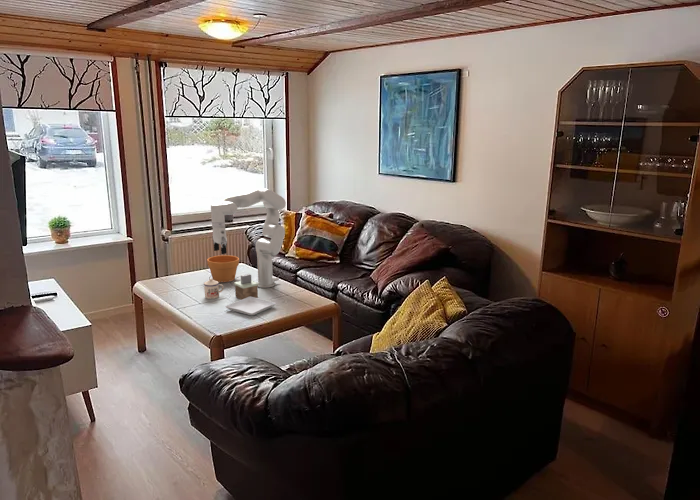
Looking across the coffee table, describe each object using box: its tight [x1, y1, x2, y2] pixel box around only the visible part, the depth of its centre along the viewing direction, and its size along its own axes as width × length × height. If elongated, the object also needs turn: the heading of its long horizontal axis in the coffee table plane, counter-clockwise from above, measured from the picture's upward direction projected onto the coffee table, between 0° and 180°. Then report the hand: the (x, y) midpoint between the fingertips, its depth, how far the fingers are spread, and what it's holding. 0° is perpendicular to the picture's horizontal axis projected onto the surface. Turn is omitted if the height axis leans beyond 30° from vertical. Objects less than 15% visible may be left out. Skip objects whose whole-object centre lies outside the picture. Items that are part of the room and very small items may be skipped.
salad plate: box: [225, 296, 277, 316], centre depth 315 cm, size 21×21×3 cm
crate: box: [234, 285, 259, 300], centre depth 335 cm, size 10×10×8 cm
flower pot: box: [206, 254, 240, 283], centre depth 370 cm, size 21×21×15 cm
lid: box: [233, 273, 259, 288], centre depth 334 cm, size 11×11×6 cm
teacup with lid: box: [203, 278, 224, 300], centre depth 335 cm, size 12×9×12 cm
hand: (220, 252), depth 327 cm, fingers open, 9 cm apart
